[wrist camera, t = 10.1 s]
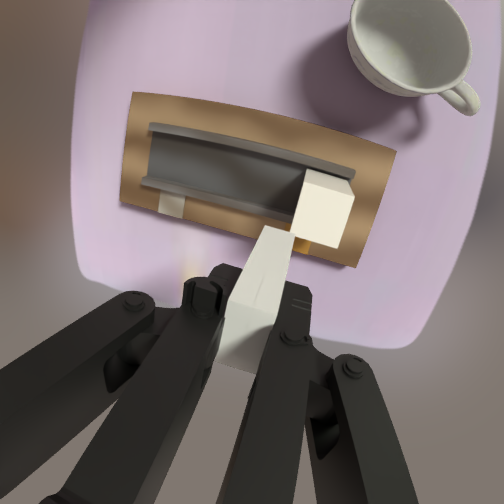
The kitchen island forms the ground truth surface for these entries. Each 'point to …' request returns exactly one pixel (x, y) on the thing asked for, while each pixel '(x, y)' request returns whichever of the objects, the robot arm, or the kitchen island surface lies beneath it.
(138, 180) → the wooden slider track
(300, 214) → the switch knob
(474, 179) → the kitchen island surface
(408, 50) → the teacup
